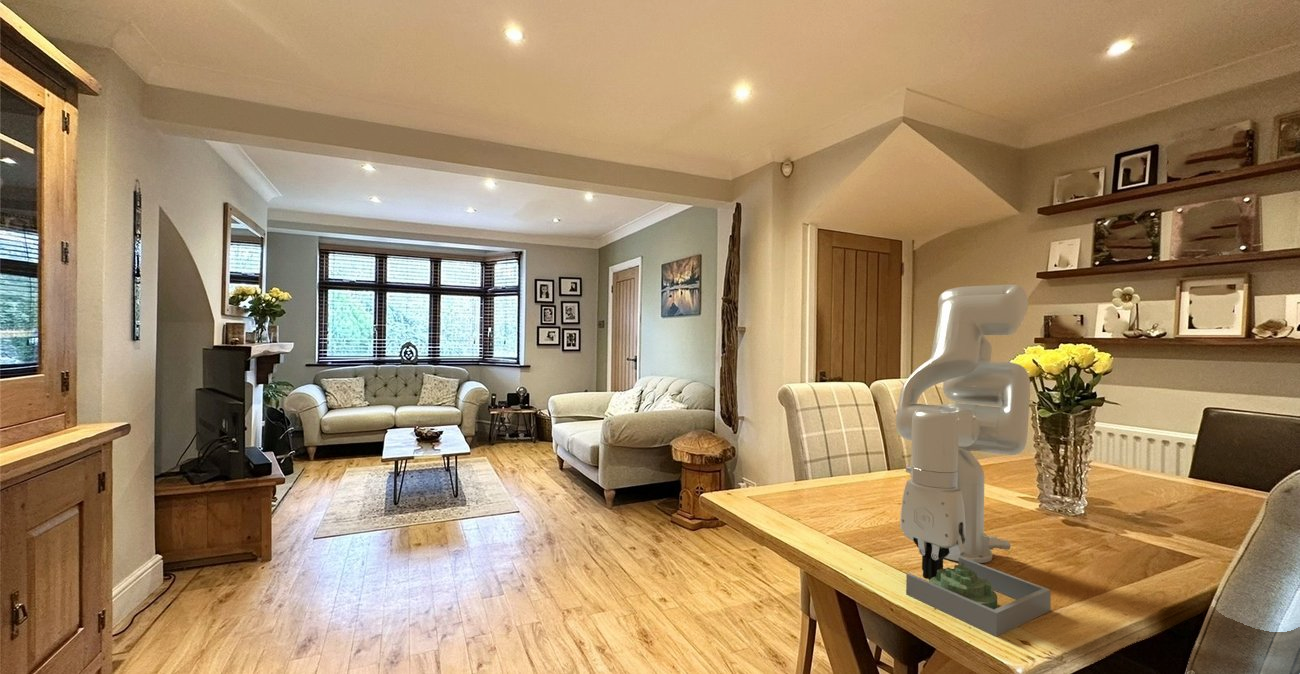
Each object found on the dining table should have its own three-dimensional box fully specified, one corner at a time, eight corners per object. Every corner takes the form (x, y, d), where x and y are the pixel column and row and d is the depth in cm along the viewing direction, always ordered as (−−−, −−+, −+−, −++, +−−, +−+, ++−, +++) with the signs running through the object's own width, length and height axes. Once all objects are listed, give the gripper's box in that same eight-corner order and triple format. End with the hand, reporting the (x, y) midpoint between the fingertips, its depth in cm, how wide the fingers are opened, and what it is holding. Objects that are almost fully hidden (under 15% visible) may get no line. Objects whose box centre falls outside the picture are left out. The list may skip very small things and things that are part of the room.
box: (906, 594, 91) (906, 574, 91) (960, 575, 99) (961, 556, 99) (996, 636, 78) (996, 613, 78) (1050, 610, 86) (1050, 589, 86)
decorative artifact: (1004, 625, 82) (988, 596, 91) (1005, 580, 82) (989, 556, 91) (933, 611, 86) (925, 585, 95) (933, 569, 86) (925, 547, 95)
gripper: (884, 470, 100) (883, 566, 100) (963, 490, 87) (961, 600, 86) (908, 466, 103) (907, 559, 103) (988, 485, 90) (986, 591, 90)
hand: (932, 577), depth 95 cm, fingers closed
